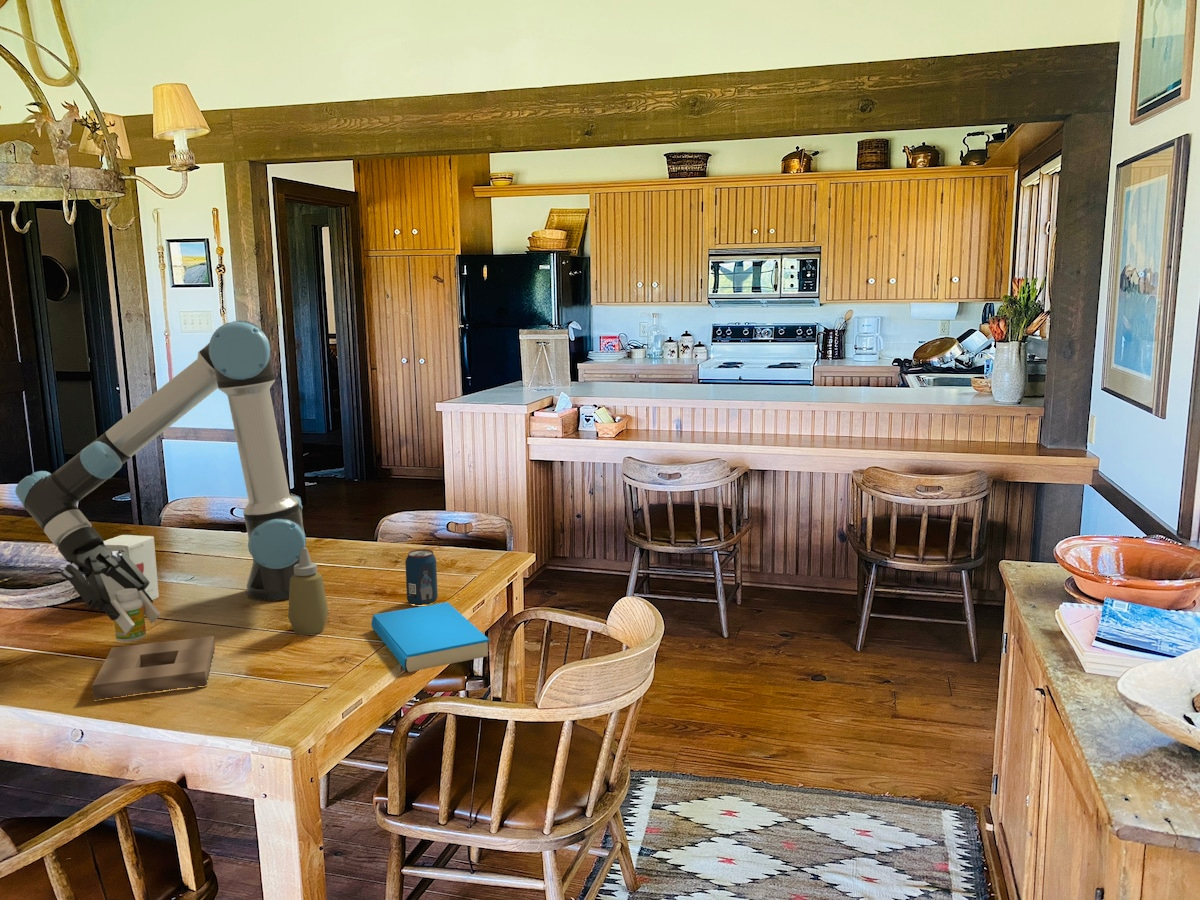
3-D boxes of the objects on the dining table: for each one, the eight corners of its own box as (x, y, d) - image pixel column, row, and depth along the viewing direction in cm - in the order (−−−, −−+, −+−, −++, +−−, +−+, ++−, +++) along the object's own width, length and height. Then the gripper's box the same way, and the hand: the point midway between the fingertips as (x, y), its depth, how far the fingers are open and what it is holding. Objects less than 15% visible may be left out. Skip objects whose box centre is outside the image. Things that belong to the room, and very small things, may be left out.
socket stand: (214, 650, 177) (213, 636, 176) (206, 687, 160) (205, 671, 159) (113, 662, 171) (112, 647, 170) (93, 701, 154) (92, 685, 154)
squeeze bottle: (292, 640, 182) (286, 555, 179) (286, 628, 189) (281, 546, 186) (332, 633, 185) (328, 550, 182) (325, 621, 192) (320, 541, 189)
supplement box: (133, 610, 200) (127, 546, 198) (98, 607, 202) (92, 543, 200) (160, 597, 209) (155, 535, 207) (127, 594, 211) (121, 533, 208)
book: (447, 601, 195) (490, 637, 173) (447, 620, 195) (491, 658, 174) (369, 614, 187) (404, 653, 165) (370, 634, 187) (405, 675, 166)
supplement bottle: (131, 643, 175) (126, 596, 174) (109, 640, 177) (104, 594, 175) (152, 634, 180) (147, 588, 179) (131, 631, 182) (126, 586, 180)
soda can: (420, 596, 209) (418, 547, 207) (443, 600, 206) (442, 550, 204) (400, 605, 203) (398, 554, 201) (424, 609, 200) (422, 558, 198)
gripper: (106, 537, 190) (171, 619, 187) (24, 561, 173) (94, 651, 170) (122, 515, 187) (188, 598, 184) (39, 537, 170) (111, 628, 167)
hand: (143, 623), depth 177 cm, fingers closed on supplement bottle, 5 cm apart
